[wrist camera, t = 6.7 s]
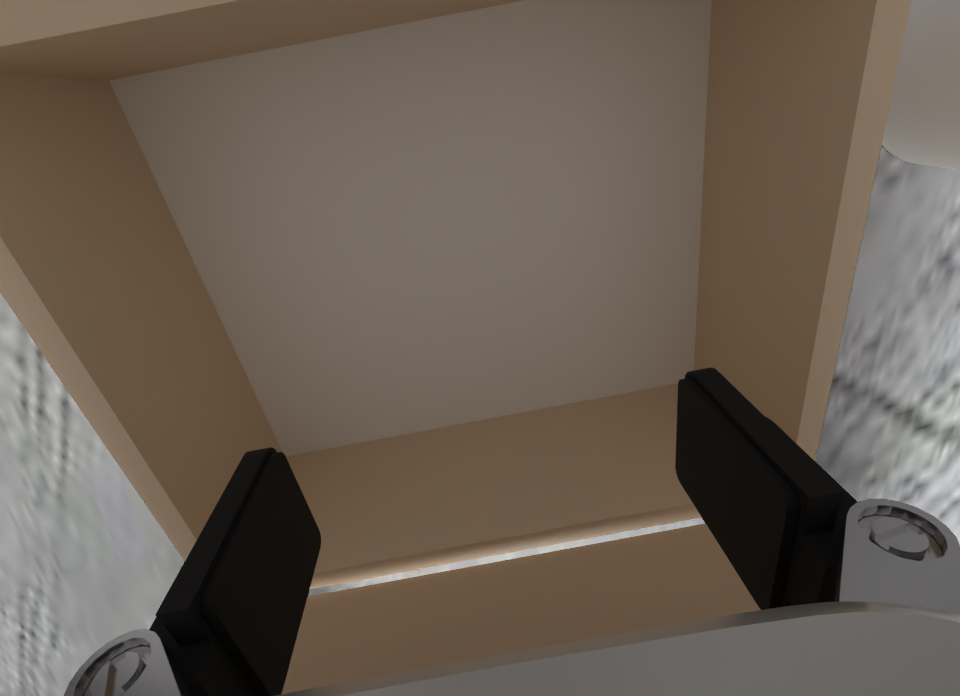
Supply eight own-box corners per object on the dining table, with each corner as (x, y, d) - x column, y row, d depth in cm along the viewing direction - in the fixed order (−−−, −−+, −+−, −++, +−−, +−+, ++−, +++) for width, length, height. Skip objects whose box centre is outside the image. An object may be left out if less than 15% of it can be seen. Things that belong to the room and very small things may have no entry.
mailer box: (726, -65, 16) (952, -193, 9) (700, 382, 25) (807, 497, 17) (88, 59, 16) (-180, 28, 9) (279, 461, 25) (215, 606, 18)
